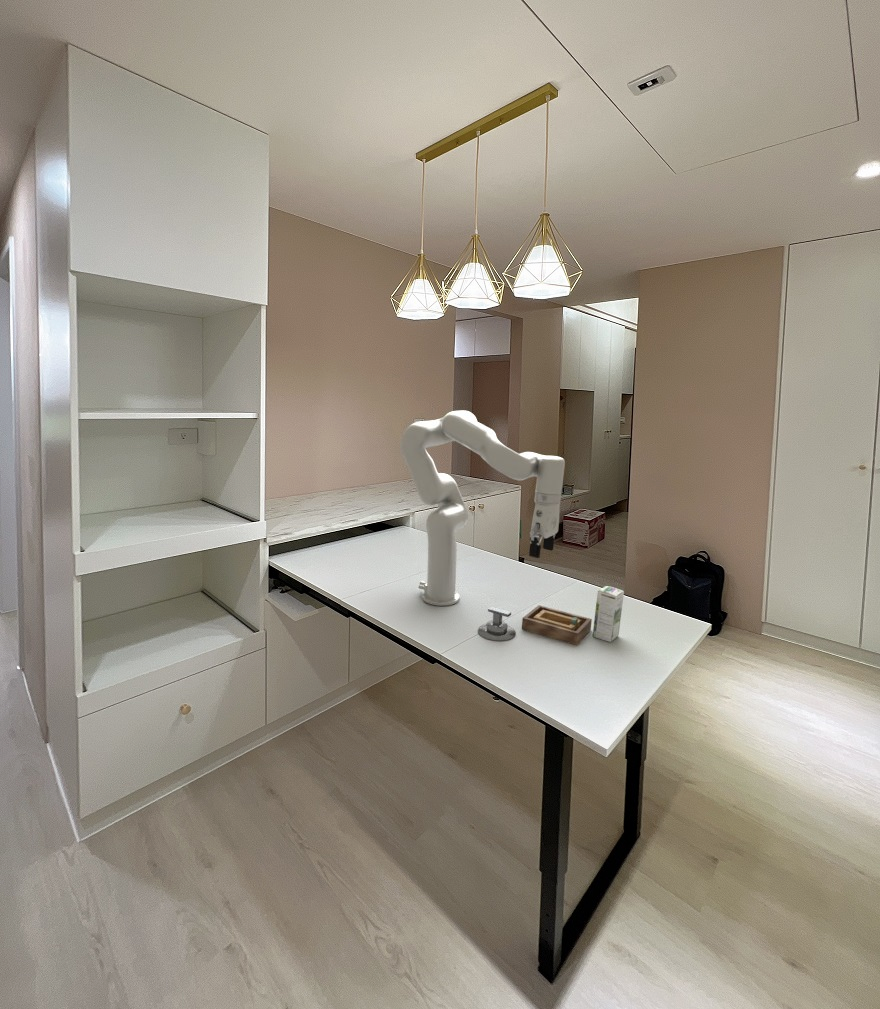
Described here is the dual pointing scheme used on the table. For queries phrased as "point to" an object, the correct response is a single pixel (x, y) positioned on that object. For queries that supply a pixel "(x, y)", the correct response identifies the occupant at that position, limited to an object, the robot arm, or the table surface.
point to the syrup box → (608, 613)
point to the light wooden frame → (558, 620)
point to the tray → (553, 630)
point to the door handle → (497, 627)
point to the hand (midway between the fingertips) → (541, 553)
